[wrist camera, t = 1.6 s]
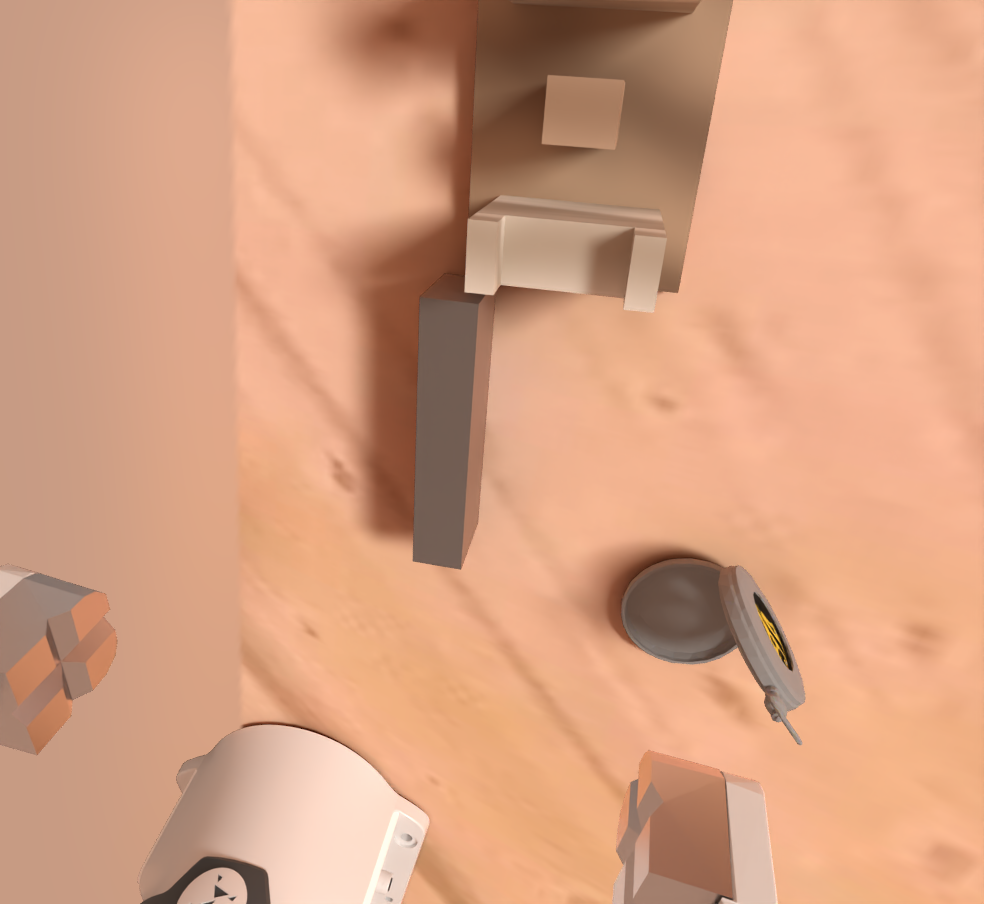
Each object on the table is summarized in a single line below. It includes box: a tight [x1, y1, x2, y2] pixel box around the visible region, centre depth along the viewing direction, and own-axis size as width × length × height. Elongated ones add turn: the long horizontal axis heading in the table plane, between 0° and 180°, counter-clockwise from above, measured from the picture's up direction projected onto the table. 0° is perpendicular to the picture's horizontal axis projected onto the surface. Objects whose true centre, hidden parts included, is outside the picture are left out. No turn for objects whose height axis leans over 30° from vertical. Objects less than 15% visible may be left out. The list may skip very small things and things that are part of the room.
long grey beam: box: [413, 274, 496, 569], centre depth 32 cm, size 13×2×4 cm, turn 176°
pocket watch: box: [621, 558, 805, 745], centre depth 32 cm, size 8×8×10 cm
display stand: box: [465, 0, 733, 313], centre depth 24 cm, size 13×9×8 cm
